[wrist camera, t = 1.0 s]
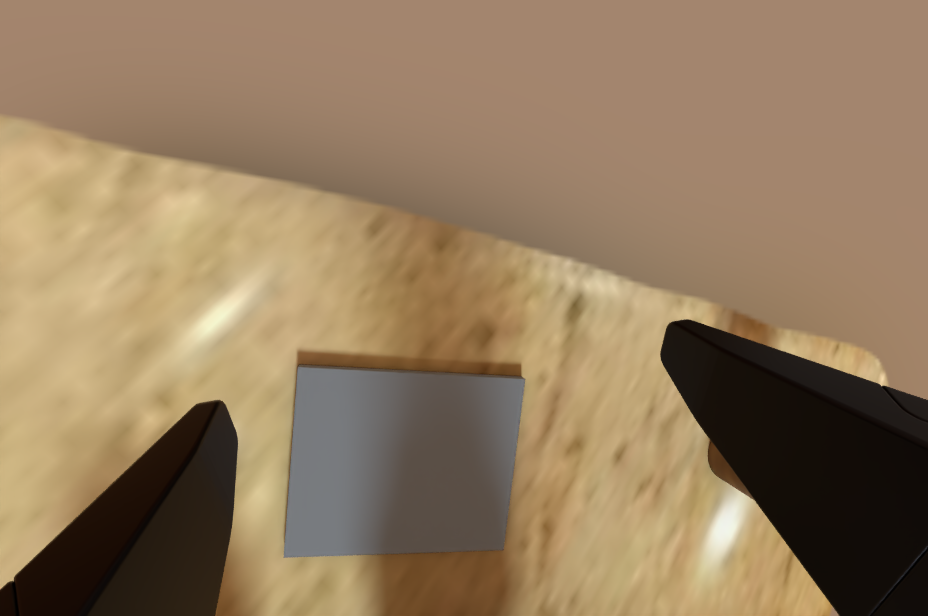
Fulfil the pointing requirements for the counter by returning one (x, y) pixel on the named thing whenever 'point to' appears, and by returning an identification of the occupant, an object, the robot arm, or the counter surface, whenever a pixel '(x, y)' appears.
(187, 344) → the counter surface
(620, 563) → the counter surface
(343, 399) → the slate mat
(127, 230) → the counter surface
